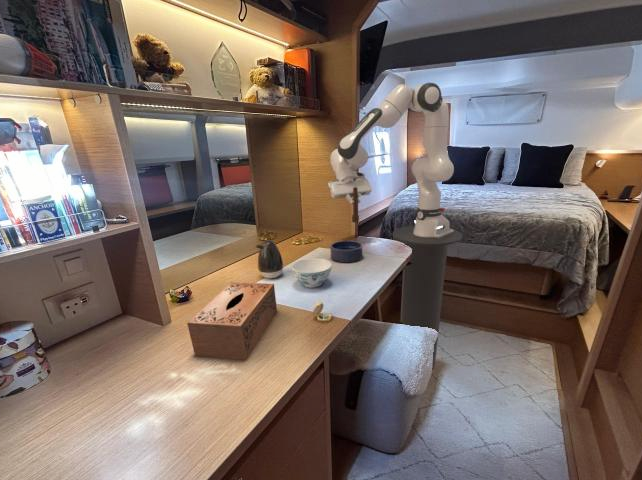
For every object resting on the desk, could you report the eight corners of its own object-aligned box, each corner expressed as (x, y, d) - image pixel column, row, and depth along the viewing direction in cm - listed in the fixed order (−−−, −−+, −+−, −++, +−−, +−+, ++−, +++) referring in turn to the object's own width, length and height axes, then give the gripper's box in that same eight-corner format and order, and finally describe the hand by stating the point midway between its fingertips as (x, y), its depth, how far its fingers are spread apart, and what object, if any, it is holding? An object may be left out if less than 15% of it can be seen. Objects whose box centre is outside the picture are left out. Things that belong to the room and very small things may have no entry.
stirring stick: (356, 220, 165) (356, 186, 158) (360, 221, 162) (360, 187, 156) (350, 221, 163) (350, 187, 157) (354, 222, 161) (354, 188, 154)
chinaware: (339, 286, 127) (339, 267, 124) (303, 295, 120) (301, 275, 117) (321, 273, 139) (320, 255, 136) (287, 281, 133) (285, 263, 130)
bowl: (350, 250, 165) (350, 238, 162) (368, 258, 153) (368, 246, 151) (325, 256, 158) (324, 244, 156) (342, 265, 147) (341, 252, 144)
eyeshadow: (325, 323, 102) (324, 308, 100) (312, 318, 105) (311, 304, 103) (333, 317, 105) (333, 303, 104) (321, 313, 108) (320, 299, 106)
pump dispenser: (254, 276, 139) (249, 240, 133) (275, 269, 145) (272, 235, 139) (267, 283, 132) (262, 246, 126) (289, 276, 138) (285, 240, 132)
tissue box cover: (235, 309, 113) (231, 282, 109) (277, 311, 110) (274, 283, 106) (194, 355, 90) (187, 322, 86) (246, 359, 87) (240, 326, 83)
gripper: (328, 176, 157) (337, 201, 152) (367, 173, 163) (377, 196, 159) (325, 185, 162) (333, 209, 158) (362, 181, 169) (372, 204, 165)
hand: (356, 203), depth 158 cm, fingers closed on stirring stick, 2 cm apart
